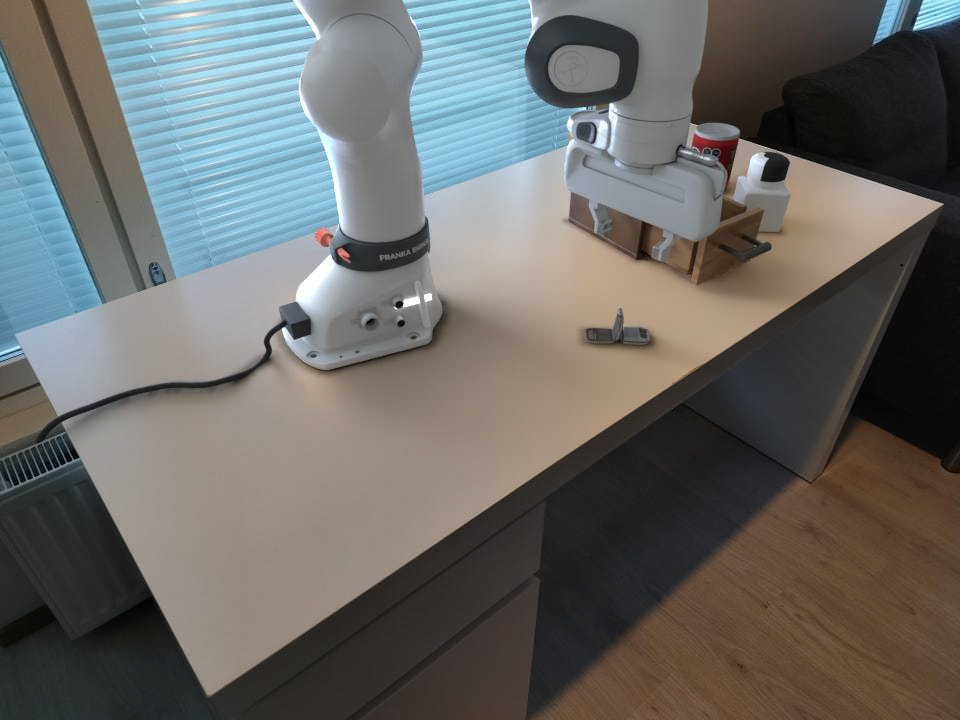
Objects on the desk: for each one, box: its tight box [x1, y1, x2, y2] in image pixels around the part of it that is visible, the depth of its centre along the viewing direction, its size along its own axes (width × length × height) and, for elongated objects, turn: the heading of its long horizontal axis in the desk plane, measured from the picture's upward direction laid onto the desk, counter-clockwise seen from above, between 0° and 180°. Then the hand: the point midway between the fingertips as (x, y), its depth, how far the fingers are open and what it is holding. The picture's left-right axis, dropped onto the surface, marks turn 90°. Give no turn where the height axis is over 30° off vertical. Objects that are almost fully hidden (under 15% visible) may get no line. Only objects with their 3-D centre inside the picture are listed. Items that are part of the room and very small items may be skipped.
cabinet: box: [568, 192, 650, 260], centre depth 114 cm, size 17×14×11 cm
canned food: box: [691, 122, 741, 192], centre depth 127 cm, size 8×8×11 cm
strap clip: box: [585, 307, 651, 346], centre depth 91 cm, size 8×3×4 cm, turn 86°
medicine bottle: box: [732, 151, 791, 233], centre depth 115 cm, size 7×7×12 cm
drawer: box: [641, 195, 773, 286], centre depth 105 cm, size 20×12×9 cm, turn 35°
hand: (630, 245), depth 84 cm, fingers open, 7 cm apart
